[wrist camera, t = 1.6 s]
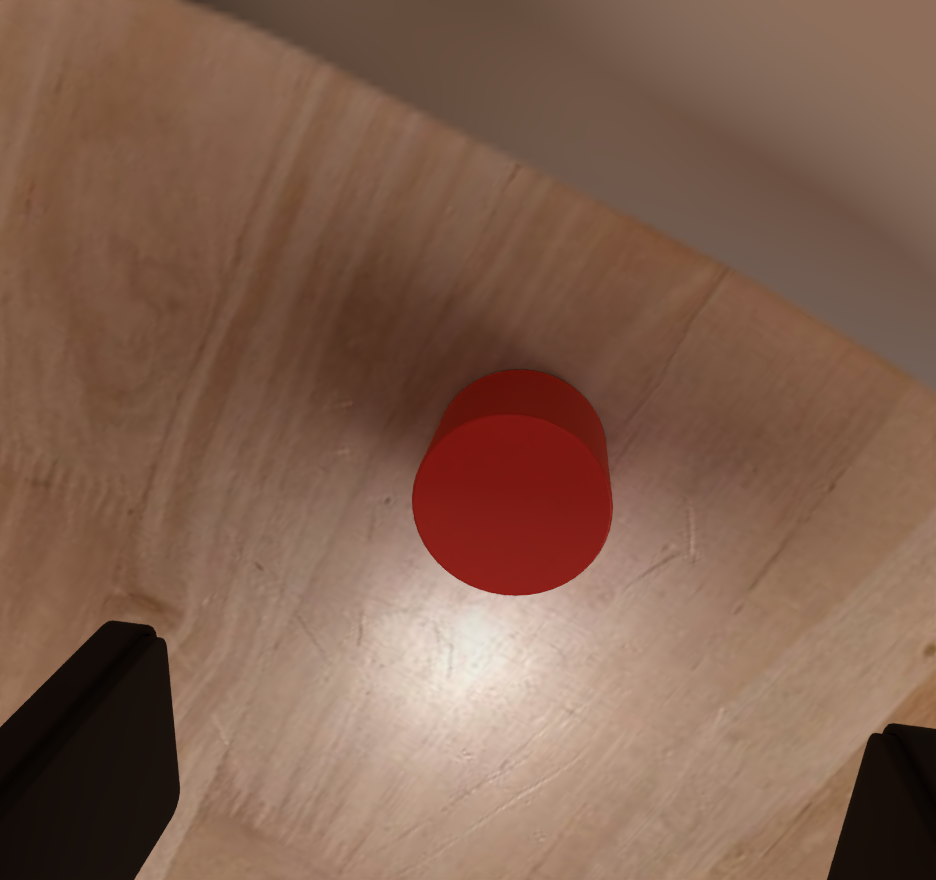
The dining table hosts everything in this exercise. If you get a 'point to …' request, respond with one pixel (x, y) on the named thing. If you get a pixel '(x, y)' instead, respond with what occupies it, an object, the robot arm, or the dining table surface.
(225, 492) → the dining table surface
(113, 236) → the dining table surface
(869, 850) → the robot arm
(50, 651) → the dining table surface
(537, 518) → the cylinder
